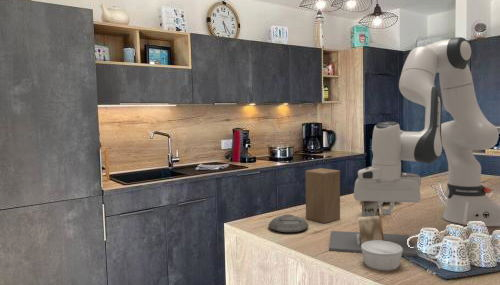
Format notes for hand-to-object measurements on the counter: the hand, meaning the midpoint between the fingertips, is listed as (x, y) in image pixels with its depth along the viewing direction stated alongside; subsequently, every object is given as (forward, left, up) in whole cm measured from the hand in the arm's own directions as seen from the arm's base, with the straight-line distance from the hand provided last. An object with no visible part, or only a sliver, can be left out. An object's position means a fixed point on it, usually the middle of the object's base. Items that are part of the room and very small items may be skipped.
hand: (386, 214), depth 124 cm
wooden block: (+22, -27, -10) cm, 36 cm away
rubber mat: (+5, 0, -10) cm, 11 cm away
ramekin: (+3, +17, -10) cm, 20 cm away
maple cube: (+1, 0, -5) cm, 5 cm away
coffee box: (+3, -35, -10) cm, 37 cm away
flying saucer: (+34, -12, -10) cm, 37 cm away
